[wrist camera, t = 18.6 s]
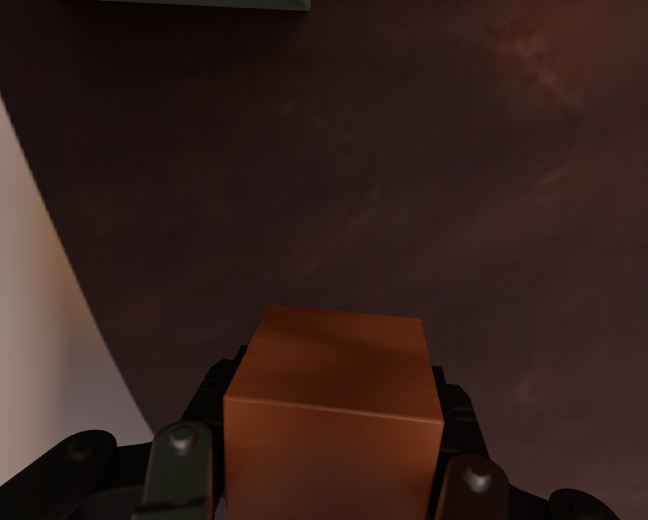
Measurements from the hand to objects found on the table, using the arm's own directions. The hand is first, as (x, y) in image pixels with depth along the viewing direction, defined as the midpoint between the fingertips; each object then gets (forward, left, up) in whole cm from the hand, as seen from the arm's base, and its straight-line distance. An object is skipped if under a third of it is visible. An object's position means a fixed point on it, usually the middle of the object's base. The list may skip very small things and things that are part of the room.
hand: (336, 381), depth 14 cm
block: (0, 0, 0) cm, 0 cm away
